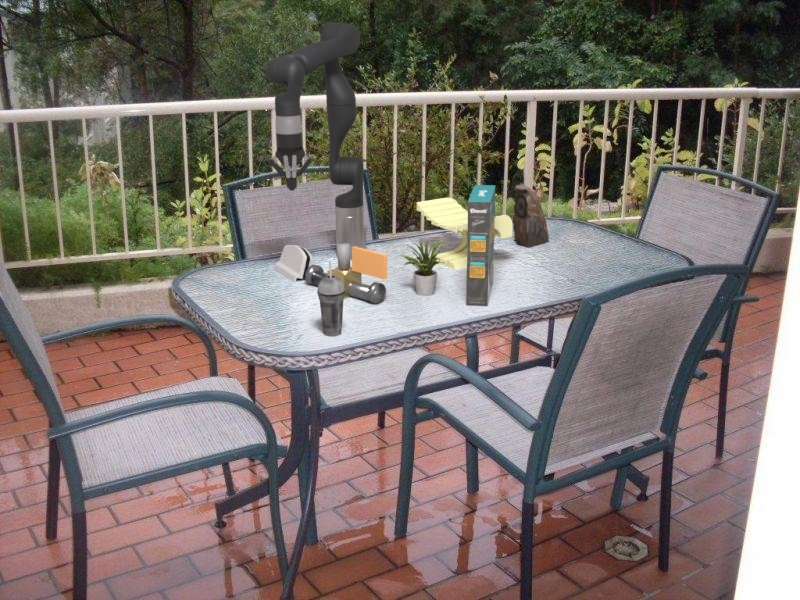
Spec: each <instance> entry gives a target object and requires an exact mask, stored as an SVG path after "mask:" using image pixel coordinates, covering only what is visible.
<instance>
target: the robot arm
mask: <svg viewBox="0 0 800 600" xmlns="http://www.w3.org/2000/svg"><path fill="white" fill-rule="evenodd" d="M360 42H361V34H360V31H359V29H358V27H357V26H355V25H354V24H351V23H343V22H326V23H324V24H323V26H322V27H321V30H320V40H319V41H316V42H312V43H309V44H306V45H304V46H302V47H301V48H298V49H297V50H295V51H293V52H290V53H287V54H283V55H279V56H276V57H274V58H272V59H271V60H270V61H269V63H268V64H267V67H266V71H265V72H266V76H267V79H268V80H269V82H271V83H273V84H275V85H284V86H286V85H287V88H286V91H285V92H280V93H278V94H276V95H275V97H274V108H275V111H274V112H275V119H274V120H275V123H274V124H275V127H274V128H275V142H276V150H275V153H274V155H273V156H272V157H270V158H269V160H268V163H269V165H270V166H272V168H273V169H274V170H275V171H276V172H277V174H278V175H280V176H281V177H284V178H285V179H286V188H287V189H288V190H289V191H290V192H291V191H292V192H293V191H296V189H297V187H298V181H297V178H298V177H301V176H302V175H303V174H304V173H305V172H306V170H308V169H307V168H309V166H310V165H311V163H312V161H313V157H312V156H308V155H307V154H306V151H305V149H304V143H303V142H304V141H303V140H304V139H303V123H302V118H301V117H302V115H301V96H302V91H303V85H304V81H305V75H307V74H309V73H311V72H313V71H314V70H315V69H316V70H317V69H318V68H319V67H321V66H323V69H324V70H323V71H324V79H325V92H326V93H325V94H326V96H325V97H326V98H325V99H326V114H327V124H328V136H329V137H328V138H329V140H328V141H329V144H328V145H329V146H328V147H329V149H328V150H329V153H328V154H329V155H328V156H329V157H328V158H329V159H328V161H329V164H328V165H329V166H328V167H329V178H330V181H331V184H333V185H335V186H337V185H338V186H352V188H351V190H348V191H347V192H344V193H342V194H339V195H337V196H336V197H335V198H334V199H335V200H334V204H335V205H334V207H335V209H334V210H335V211H334V213H335V233H336V234H335V238H336V239H335V240H336V246H337V244H338V243H349V244H350V260H352V247H354V246H356V247H359V248H363V249H367V227H366V226H365V225H364V223H365V221H364V220H365V218H364V167H365V166H364V161H363V159H362V158H361V157H360V156H345V155H344V156H341V149H342V148H341V147H342V145H343V143H344V140H345V139H346V136H347V135H348V134H349V133H350V132H349V131H351V128H352V127H353V126H354V123H355V122H356V119H357V98H356V94H355V91H354V89H353V87H352V86H351V84H350V83H349V81H348V79H347V77H346V75H345V74H344V72H343V69H342V67H341V62H340V58H342V57H346V56H349V55H353V54H354V53H355V52H357V50H358V48H359V46H360ZM302 160H303V165H302V166H301V167H300V169H299V170H298V166H299V164H300V163H301V162H302ZM279 162H280V163H281V165H283V166H284V169H283V168H282V167H281V166H280V164H279ZM336 256H337V258H338V249H337V248H336Z"/></svg>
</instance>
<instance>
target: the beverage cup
mask: <svg viewBox="0 0 800 600" xmlns="http://www.w3.org/2000/svg"><path fill="white" fill-rule="evenodd" d="M328 268H329V269H328V271H329V273H330V276H327V277H325V278H323V279H322V280H321V281H320V283H319V285H318V286H317V292H316V293H317V298H318V301H319V307H320V315H321V321H322V322H321V323H322V329H323V335H324V336H326V337H338V336H340V335H342V328H343V314H344V313H343V312H344V300H345V299H344V296H345V288H344V285H343V282H342V281H341V280H340V279H339V278H338V277H336V276H332V272H331V270H332V260H328Z"/></svg>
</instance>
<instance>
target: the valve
mask: <svg viewBox="0 0 800 600" xmlns="http://www.w3.org/2000/svg"><path fill="white" fill-rule="evenodd" d="M331 272H332V276H336V277H338V278H339V279H340V280H341V281H342V282H343V285H344V288H345V296H344V300H345V299H348V298H351V297H352V298H357V299H360V300H363V301H367V302H370V303H373V304H376V305H379V304H381V303H382V302H383V301H384V299H385V297H386V294H387V288H386V286H385V285H384V283H382V282H378V281H375V282H373V283H371V284H370V285H369V284H366V283H362V281H363V280H362V273H359V272H356V271H352V266H350V268H349V269H339V268H338V266H337V267H336V268H333V269H332V268H331ZM327 276H330V273H329V270H327V271H326V272H325V271H324V269H323V268H322V266H321V265H317V264H312V265H311V266H310V267H309V268H308V269H307V271H306V275H305V277H306V280H305V281H306V283H308V284H309V285H313V286H316V287H318V285H319V283H320V281H321V280H322V279H323V278H325V277H327Z"/></svg>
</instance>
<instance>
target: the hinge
mask: <svg viewBox="0 0 800 600" xmlns="http://www.w3.org/2000/svg"><path fill="white" fill-rule="evenodd" d="M313 263H314V256H313V255H312V254H311V252H310V251H309V250H308V249H307V248H304V247H303V246H300V245H296V244H286V245H284V247H283V250H282V252H281V256H280V258H279V261H278V262H275V264H274V267H273V270H275V271H276V272H278V273H279V274H280V275H283V276H284V277H285V278H286V279H287V280H290V281H292V282H293V283H296V282H297V279H301V280H305V281H306V277H305V275H306V271H307V269H308V268H309V267H310V266H311V265H314V264H313Z"/></svg>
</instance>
